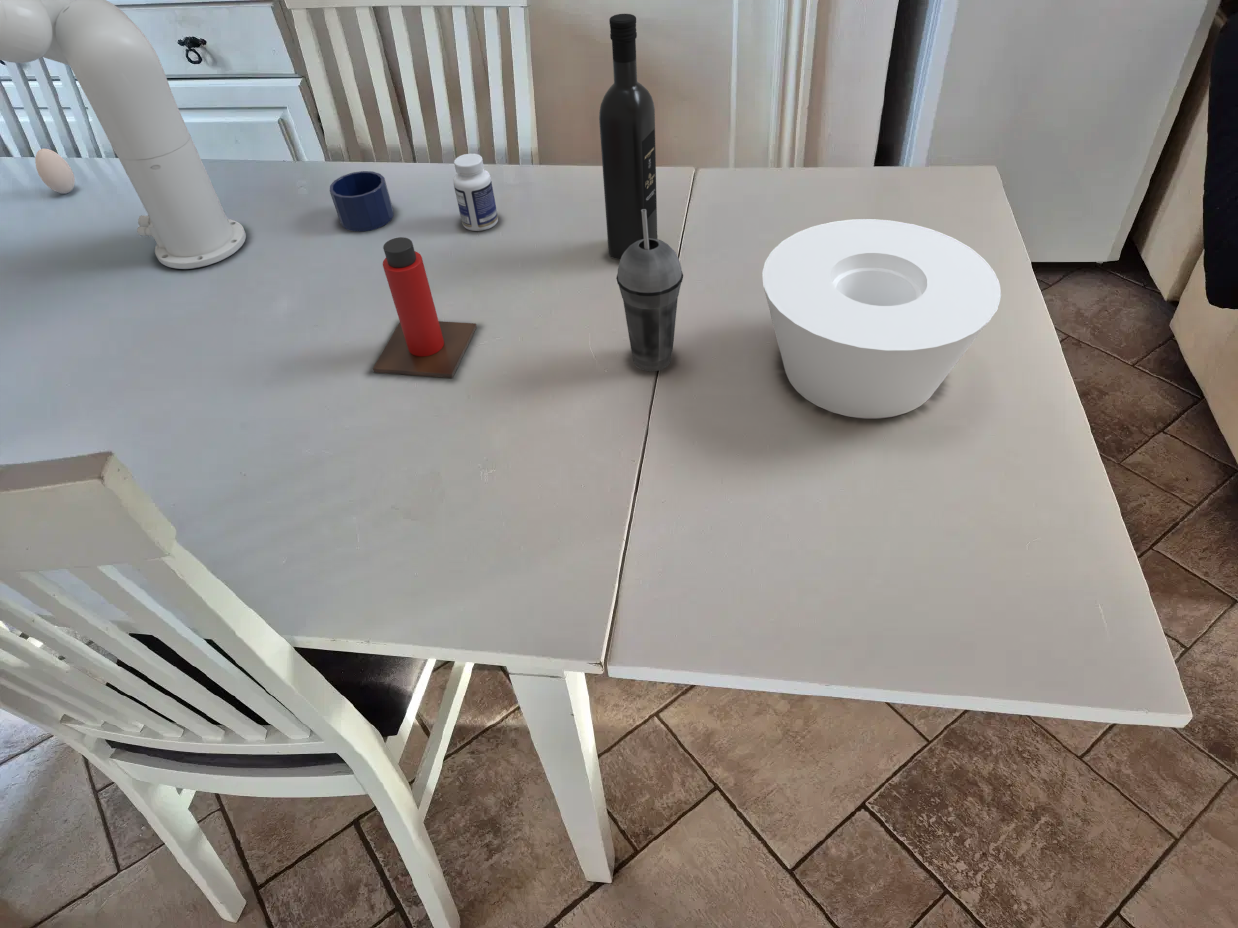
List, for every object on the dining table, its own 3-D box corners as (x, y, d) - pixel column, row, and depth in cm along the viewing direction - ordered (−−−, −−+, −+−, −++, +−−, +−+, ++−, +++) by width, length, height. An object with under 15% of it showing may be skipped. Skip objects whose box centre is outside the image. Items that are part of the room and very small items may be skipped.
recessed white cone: (961, 461, 82) (994, 370, 74) (731, 415, 89) (737, 326, 80) (977, 324, 98) (1006, 235, 89) (779, 293, 104) (788, 207, 96)
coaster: (373, 372, 98) (372, 368, 97) (402, 322, 104) (401, 318, 104) (452, 378, 96) (451, 374, 96) (477, 327, 103) (476, 323, 102)
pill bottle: (501, 213, 122) (491, 150, 115) (494, 232, 119) (482, 168, 111) (467, 213, 123) (454, 151, 116) (458, 232, 119) (444, 168, 112)
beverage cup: (690, 345, 98) (691, 191, 83) (673, 384, 93) (671, 227, 79) (632, 336, 100) (624, 183, 85) (613, 373, 95) (601, 218, 81)
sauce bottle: (403, 355, 99) (371, 254, 88) (415, 333, 101) (386, 233, 91) (437, 358, 98) (409, 256, 88) (448, 335, 101) (423, 235, 91)
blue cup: (332, 230, 121) (320, 196, 117) (353, 203, 127) (342, 170, 123) (382, 232, 120) (372, 198, 116) (401, 205, 126) (392, 172, 122)
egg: (86, 191, 135) (62, 148, 129) (58, 202, 132) (32, 158, 127) (75, 182, 137) (51, 140, 132) (47, 193, 135) (21, 150, 130)
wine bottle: (660, 245, 114) (655, 11, 92) (643, 266, 110) (635, 28, 89) (623, 238, 116) (610, 7, 94) (606, 258, 112) (588, 23, 90)
